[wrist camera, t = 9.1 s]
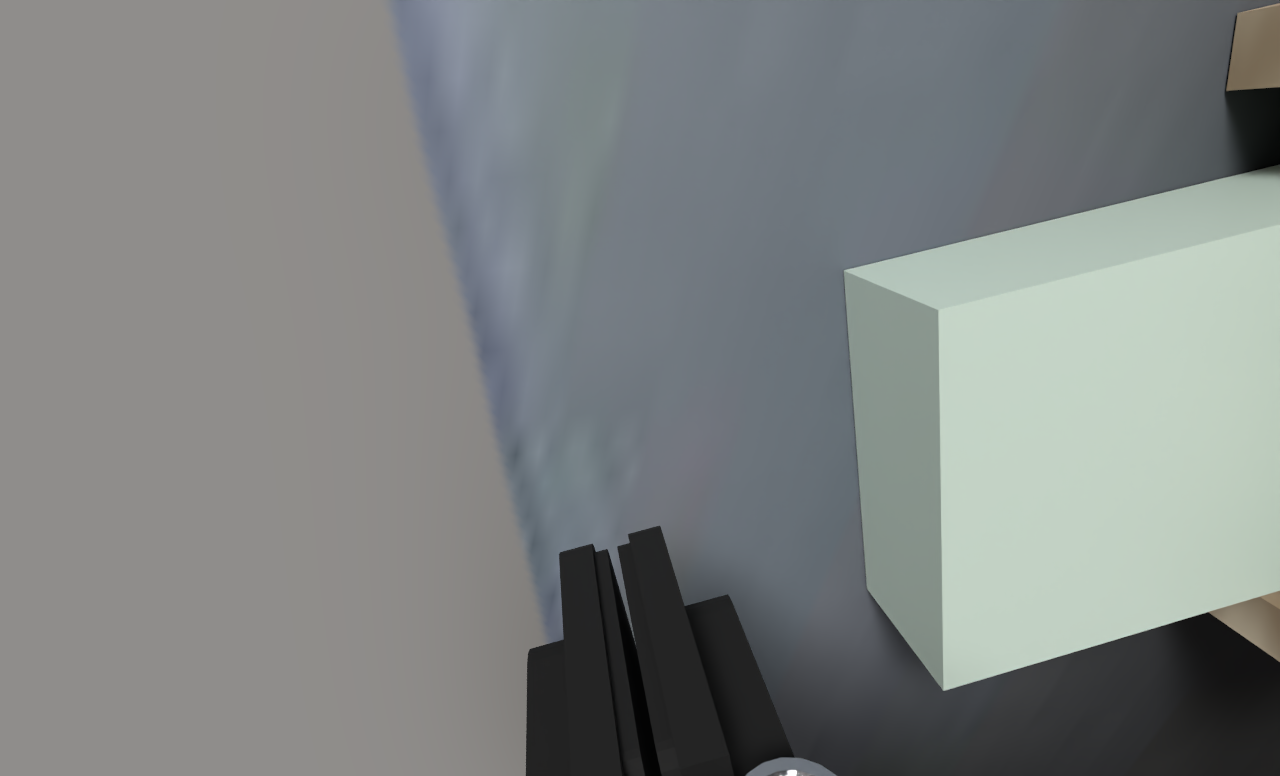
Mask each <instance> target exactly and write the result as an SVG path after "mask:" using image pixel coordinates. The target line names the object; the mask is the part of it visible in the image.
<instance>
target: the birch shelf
mask: <svg viewBox="0 0 1280 776" xmlns="http://www.w3.org/2000/svg"><path fill="white" fill-rule="evenodd" d="M1273 87H1280V3H1279V4H1275V5H1270V6H1266V7H1262V8H1257V9H1253V10H1249V11H1244V12H1240V13H1238V14H1237V21H1236V28H1235V35H1234V42H1233V49H1232V55H1231V62H1230V69H1229V76H1228V83H1227V89H1226V91H1231V90H1245V89H1259V88H1273ZM1209 613H1210V614H1212V615H1213V616H1215V617H1216V618H1217V619H1219V620H1220V621H1222V622H1223V623H1225V624H1226V625H1227V626H1229V627H1230V628H1232V629H1233V630H1235V631H1236V632H1238V633H1239V634H1240V635H1242V636H1243V637H1245V638H1246V639H1248V640H1249V641H1250V642H1252V643H1253V644H1255V645H1256V646H1258V647H1259V648H1261V649H1262V650H1263V651H1265V652H1266V653H1268V654H1269V655H1271V656H1272V657H1273V658H1275V659H1276V660H1278V661H1279V662H1280V591H1277V592H1274V593H1270V594H1267V595H1263V596H1260V597H1257V598H1253V599H1250V600H1247V601H1243V602H1240V603H1237V604H1233V605H1230V606H1227V607H1223V608H1220V609H1216V610H1213V611H1210V612H1209Z"/></svg>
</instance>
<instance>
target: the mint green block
mask: <svg viewBox="0 0 1280 776" xmlns="http://www.w3.org/2000/svg"><path fill="white" fill-rule="evenodd" d="M844 283H845V297H846V311H847V324H848V338H849V351H850V365H851V379H852V392H853V406H854V420H855V433H856V447H857V461H858V474H859V488H860V502H861V515H862V529H863V543H864V556H865V570H866V584H867V590H868V591H869V592H870V594H871V595H872V596H873V598H874V599H875V600H876V602H877V603H878V604H879V606H880V607H881V608H882V610H883V611H884V612H885V614H886V615H887V616H888V618H889V619H890V620H891V622H892V623H893V624H894V626H895V627H896V628H897V630H898V631H899V632H900V634H901V635H902V636H903V638H904V639H905V640H906V642H907V643H908V644H909V646H910V647H911V648H912V650H913V651H914V652H915V654H916V655H917V656H918V658H919V659H920V660H921V662H922V663H923V664H924V666H925V667H926V668H927V670H928V671H929V672H930V674H931V675H932V676H933V678H934V679H935V680H936V682H937V683H938V684H939V686H940V687H941V688H942V690H943V691H945V690H948V689H951V688H955V687H958V686H962V685H965V684H968V683H972V682H975V681H978V680H982V679H985V678H988V677H992V676H995V675H998V674H1002V673H1005V672H1009V671H1012V670H1015V669H1019V668H1022V667H1025V666H1029V665H1032V664H1035V663H1039V662H1042V661H1045V660H1049V659H1052V658H1055V657H1059V656H1062V655H1066V654H1069V653H1072V652H1076V651H1079V650H1082V649H1086V648H1089V647H1092V646H1096V645H1099V644H1102V643H1106V642H1109V641H1113V640H1116V639H1119V638H1123V637H1126V636H1129V635H1133V634H1136V633H1139V632H1143V631H1146V630H1149V629H1153V628H1156V627H1159V626H1163V625H1166V624H1170V623H1173V622H1176V621H1180V620H1183V619H1186V618H1190V617H1193V616H1196V615H1200V614H1203V613H1206V612H1210V611H1213V610H1216V609H1220V608H1223V607H1227V606H1230V605H1233V604H1237V603H1240V602H1243V601H1247V600H1250V599H1253V598H1257V597H1260V596H1263V595H1267V594H1270V593H1274V592H1277V591H1280V165H1276V166H1272V167H1267V168H1263V169H1259V170H1255V171H1251V172H1247V173H1243V174H1239V175H1235V176H1230V177H1226V178H1222V179H1218V180H1214V181H1210V182H1206V183H1202V184H1198V185H1193V186H1189V187H1185V188H1181V189H1177V190H1173V191H1169V192H1165V193H1161V194H1156V195H1152V196H1148V197H1144V198H1140V199H1136V200H1132V201H1128V202H1124V203H1119V204H1115V205H1111V206H1107V207H1103V208H1099V209H1095V210H1091V211H1087V212H1082V213H1078V214H1074V215H1070V216H1066V217H1062V218H1058V219H1054V220H1049V221H1045V222H1041V223H1037V224H1033V225H1029V226H1025V227H1021V228H1017V229H1012V230H1008V231H1004V232H1000V233H996V234H992V235H988V236H984V237H980V238H975V239H971V240H967V241H963V242H959V243H955V244H951V245H947V246H943V247H938V248H934V249H930V250H926V251H922V252H918V253H914V254H910V255H906V256H901V257H897V258H893V259H889V260H885V261H881V262H877V263H873V264H868V265H864V266H860V267H856V268H852V269H848V270H844Z"/></svg>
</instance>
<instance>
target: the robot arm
mask: <svg viewBox="0 0 1280 776" xmlns="http://www.w3.org/2000/svg"><path fill="white" fill-rule="evenodd" d="M628 536H629V541H630V543H628V544H625V545H621V546H618V553H619V558H620V563H621V568H622V574H623V579H624V584H625V589H626V595H627V600H628V605H629V610H630V616H631V621H632V626H633V632H634V637H635V642H636V645H635V642H634V638H633V635H632V631H631V628H630V624H629V621H628V617H627V614H626V611H625V607H624V604H623V600H622V597H621V593H620V590H619V586H618V583H617V579H616V576H615V573H614V569H613V566H612V562H611V559H610V555H609V552H608V550H607V549H606V550H602V551H599V552H596V551H595V548H594V546H593V544H590V545H586V546H582V547H578V548H575V549H571V550H567V551H563V552H560V554H559V561H560V579H561V597H562V615H563V633H564V640H561V641H557V642H554V643H550V644H546V645H543V646H539V647H536V648H532V649H530V650H529V653H528V662H527V734H526V739H527V740H526V776H837V775H835V774H834V773H832V772H831V771H829V770H828V769H826V768H825V767H823V766H822V765H820V764H818V763H815V762H811V761H808V760H805V759H802V758H794V755H793V753H792V750H791V748H790V745H789V743H788V740H787V738H786V735H785V733H784V730H783V728H782V725H781V723H780V720H779V718H778V715H777V713H776V710H775V708H774V705H773V703H772V700H771V698H770V695H769V693H768V690H767V688H766V685H765V683H764V680H763V678H762V675H761V673H760V671H759V668H758V666H757V663H756V661H755V658H754V656H753V653H752V651H751V648H750V646H749V643H748V641H747V638H746V636H745V633H744V631H743V628H742V626H741V623H740V621H739V618H738V616H737V613H736V611H735V608H734V606H733V604H732V601H731V599H730V597H729V596H728V595H724V596H721V597H717V598H713V599H710V600H706V601H702V602H699V603H695V604H692V605H688V606H684V603H683V600H682V596H681V593H680V590H679V587H678V583H677V580H676V577H675V573H674V570H673V567H672V563H671V560H670V557H669V553H668V550H667V547H666V544H665V540H664V537H663V534H662V530H661V527H660V526H657V527H653V528H649V529H646V530H642V531H638V532H634V533H631V534H628ZM636 647H637V649H636Z"/></svg>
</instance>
